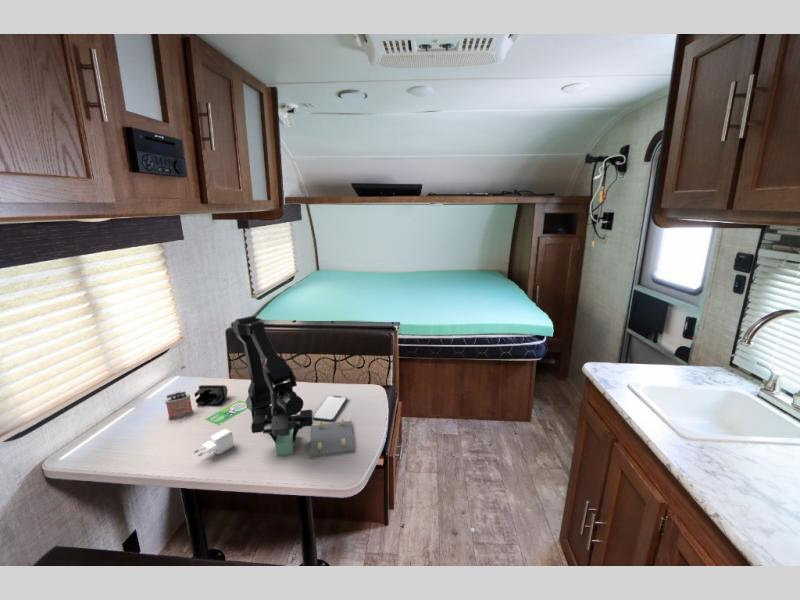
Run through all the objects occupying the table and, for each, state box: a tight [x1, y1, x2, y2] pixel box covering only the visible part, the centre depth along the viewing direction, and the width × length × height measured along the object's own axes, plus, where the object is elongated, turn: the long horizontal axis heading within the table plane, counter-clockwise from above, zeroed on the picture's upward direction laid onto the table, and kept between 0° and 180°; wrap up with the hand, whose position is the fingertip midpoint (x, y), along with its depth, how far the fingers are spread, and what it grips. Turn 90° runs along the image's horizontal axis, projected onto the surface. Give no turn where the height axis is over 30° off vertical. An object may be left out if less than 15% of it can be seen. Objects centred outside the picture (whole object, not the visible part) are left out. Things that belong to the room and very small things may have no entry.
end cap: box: [194, 384, 228, 407], centre depth 147 cm, size 10×7×7 cm
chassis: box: [309, 417, 355, 459], centre depth 124 cm, size 14×16×4 cm
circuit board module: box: [274, 428, 295, 457], centre depth 121 cm, size 5×9×4 cm, turn 11°
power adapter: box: [193, 428, 235, 457], centre depth 117 cm, size 11×5×6 cm, turn 143°
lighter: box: [164, 390, 194, 421], centre depth 138 cm, size 8×3×10 cm, turn 123°
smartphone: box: [313, 394, 348, 423], centre depth 142 cm, size 9×2×16 cm
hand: (285, 443), depth 121 cm, fingers closed on circuit board module, 5 cm apart
